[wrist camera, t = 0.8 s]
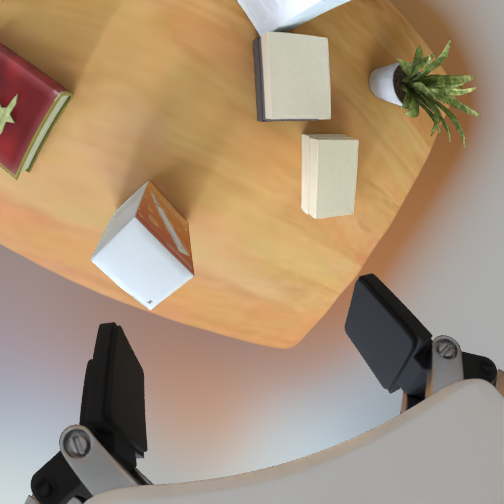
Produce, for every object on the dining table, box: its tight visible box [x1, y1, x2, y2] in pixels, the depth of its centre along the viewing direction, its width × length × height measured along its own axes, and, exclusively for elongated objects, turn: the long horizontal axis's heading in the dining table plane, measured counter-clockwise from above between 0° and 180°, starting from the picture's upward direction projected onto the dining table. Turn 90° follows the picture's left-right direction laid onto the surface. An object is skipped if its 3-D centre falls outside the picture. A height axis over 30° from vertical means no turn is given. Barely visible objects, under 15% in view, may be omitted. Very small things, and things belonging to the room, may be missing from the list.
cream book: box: [261, 31, 331, 119], centre depth 24 cm, size 10×7×2 cm
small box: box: [91, 180, 194, 310], centre depth 28 cm, size 8×6×13 cm
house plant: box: [369, 39, 480, 147], centre depth 26 cm, size 14×14×16 cm
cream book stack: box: [301, 134, 359, 219], centre depth 35 cm, size 11×6×4 cm, turn 3°
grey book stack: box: [253, 37, 319, 122], centre depth 27 cm, size 11×6×4 cm, turn 3°
